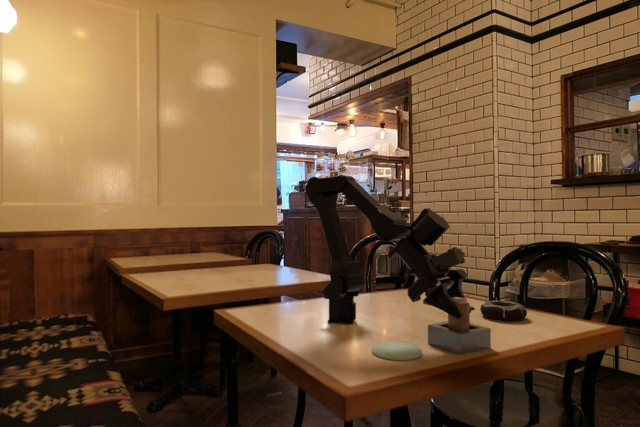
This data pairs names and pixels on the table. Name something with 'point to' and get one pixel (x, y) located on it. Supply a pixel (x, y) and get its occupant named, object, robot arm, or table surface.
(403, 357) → the coaster
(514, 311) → the donut
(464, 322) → the pepper mill
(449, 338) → the box
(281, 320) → the table surface
